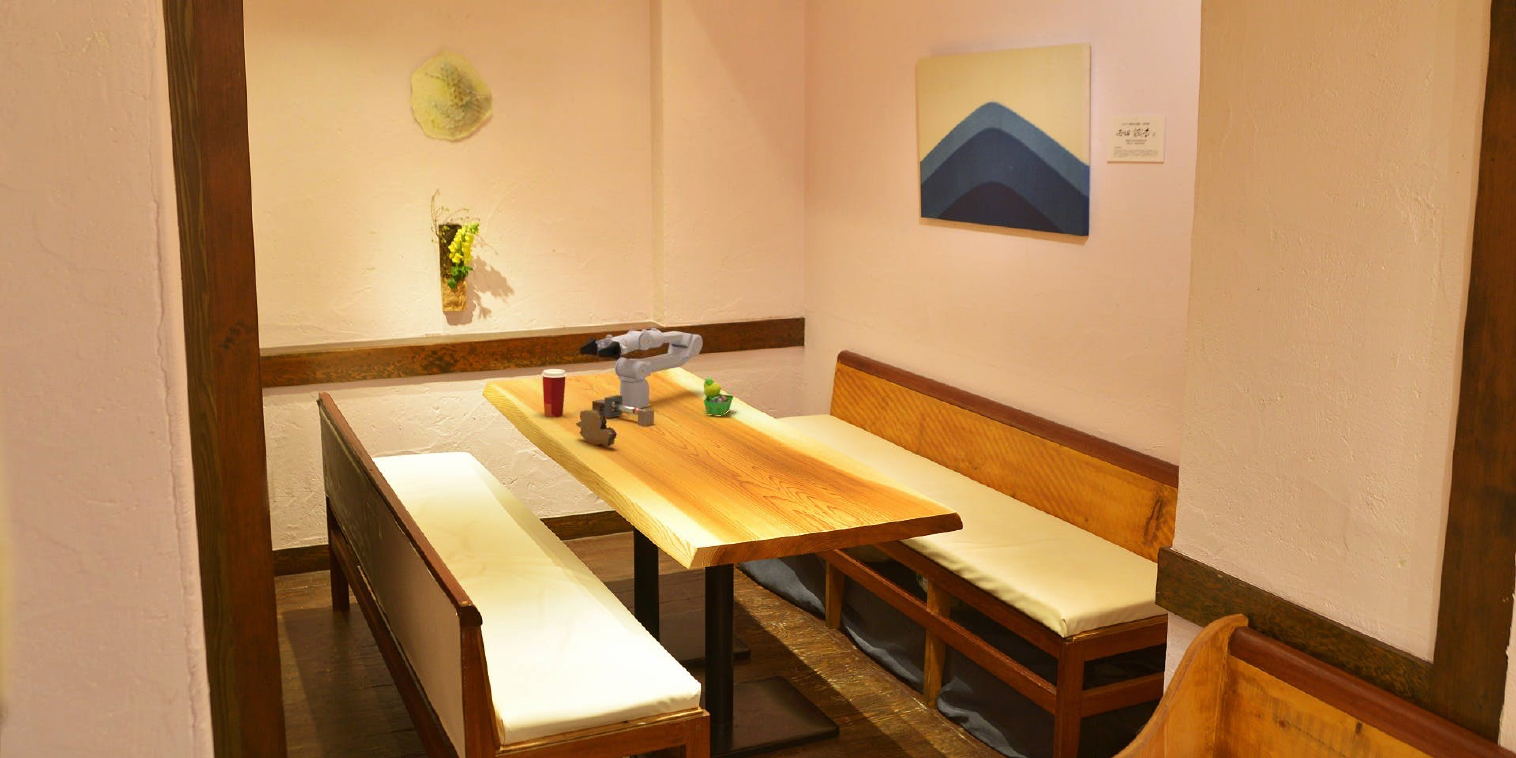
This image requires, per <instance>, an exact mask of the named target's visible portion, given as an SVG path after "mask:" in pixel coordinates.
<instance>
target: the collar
mask: <svg viewBox="0 0 1516 758" xmlns="http://www.w3.org/2000/svg"><path fill="white" fill-rule="evenodd" d="M603 400H604V415H605V417H606V418H613V417H614V418H615V417H617V416H618V417H619V416H622V415H623V412H622V411H617V410H613V409H612V403H615V404H620V405H622V396H620V394H616V395H611V396H607V397H604V399H603Z"/></svg>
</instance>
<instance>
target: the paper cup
mask: <svg viewBox="0 0 1516 758" xmlns="http://www.w3.org/2000/svg"><path fill="white" fill-rule="evenodd" d="M540 376H541V377H542V394H543V396H542V397H543V411H544V416H545V417H547V418H548V417H550V418H559V417H562V416H563V415H564V404H565V402H564V401H565V389H566V377H567V374H566V370H564V369H560V368H549V369H548V368H547V369H544V370H543V371H542V373H541V375H540Z"/></svg>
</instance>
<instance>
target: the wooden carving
mask: <svg viewBox="0 0 1516 758" xmlns="http://www.w3.org/2000/svg"><path fill="white" fill-rule="evenodd" d="M579 419H580V421H577V422H576V423H575V424H576V426H577V427H578V428H580V431H579V434H580V436H581V437H582V438H583V439H584V440H585V441H586V442H587V443H589V444H590V443H591V444H590V445H594V446H599V445H601V444H602V446H604V447H611V446H612V445H614V444H615V439H616V438H617V432H616V430H615V429H614V428H612V427H609V426H608V427H607V421H608V420H607V417H605V415H602V414H601V413H600V412H598V411H597V410H592V409H588V410H586V409H585V410H581V411H580V412H579Z"/></svg>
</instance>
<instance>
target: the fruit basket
mask: <svg viewBox="0 0 1516 758" xmlns="http://www.w3.org/2000/svg"><path fill="white" fill-rule="evenodd" d="M703 388H704V390H703V392H704V395H705V397H706V398H704V400H703V403H704V407H705V410H706V411H705V412H706V415H707V414H712V415H721V416H723V415H724V413H726V412H727V411H728V410H729V411H730V409H731V406H732V402H733V399H734V395H731V394H723V393H721V390H722V387H721V386H720V385H719V384H718V383H717V382H716V381H715V380H713V379H712V378H711V377H710V378H709V377H708V378H705V380H704V383H703ZM729 411H728V412H729ZM728 412H727V413H728ZM727 413H726V414H727ZM724 416H725V415H724ZM724 416H723V417H724Z"/></svg>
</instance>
